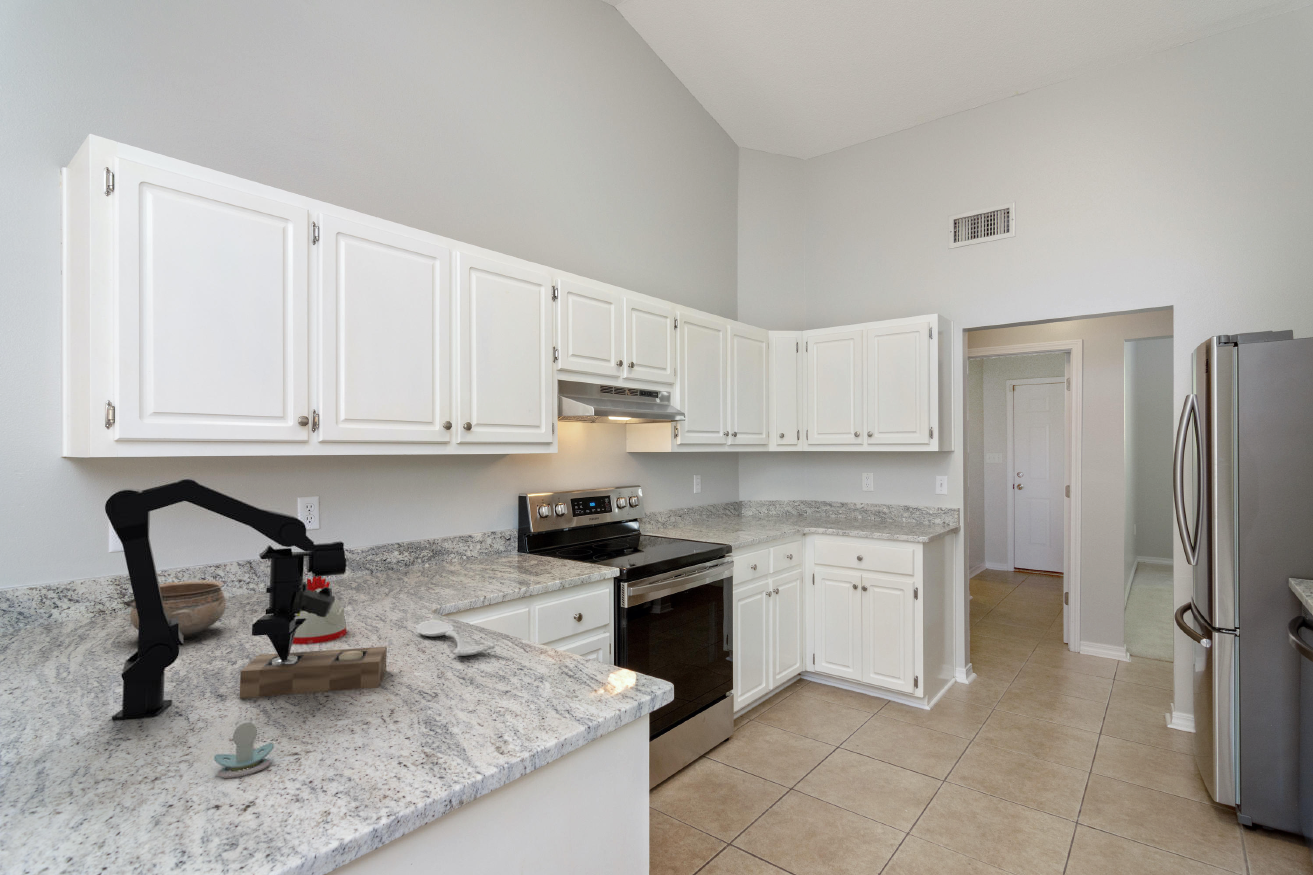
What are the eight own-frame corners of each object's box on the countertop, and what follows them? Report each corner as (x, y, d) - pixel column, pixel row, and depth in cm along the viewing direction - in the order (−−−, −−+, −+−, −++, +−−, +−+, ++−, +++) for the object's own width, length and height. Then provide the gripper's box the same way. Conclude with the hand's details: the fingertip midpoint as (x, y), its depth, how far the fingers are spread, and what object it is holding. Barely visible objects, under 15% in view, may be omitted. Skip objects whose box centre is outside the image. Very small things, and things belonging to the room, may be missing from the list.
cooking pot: (130, 631, 159) (132, 583, 159) (220, 620, 171) (222, 575, 171) (127, 657, 140) (129, 602, 140) (229, 642, 151) (231, 591, 152)
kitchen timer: (269, 641, 153) (271, 579, 153) (313, 626, 166) (314, 569, 166) (317, 646, 149) (319, 582, 150) (358, 630, 163) (359, 572, 163)
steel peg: (293, 686, 122) (293, 661, 122) (267, 688, 121) (268, 663, 121) (299, 678, 126) (300, 654, 127) (275, 680, 125) (275, 656, 125)
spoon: (457, 666, 137) (458, 650, 137) (410, 633, 162) (410, 619, 162) (496, 658, 143) (496, 643, 143) (445, 627, 168) (445, 614, 168)
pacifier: (274, 771, 91) (272, 753, 96) (276, 728, 91) (273, 713, 96) (213, 786, 87) (213, 766, 92) (214, 741, 87) (215, 724, 92)
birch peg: (360, 680, 125) (360, 657, 125) (335, 682, 124) (336, 658, 124) (364, 673, 130) (364, 650, 130) (341, 675, 128) (341, 651, 129)
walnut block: (378, 687, 124) (378, 661, 124) (239, 697, 117) (240, 671, 118) (386, 670, 133) (386, 646, 133) (258, 679, 127) (259, 654, 127)
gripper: (319, 587, 117) (317, 671, 117) (341, 569, 135) (339, 642, 135) (252, 590, 115) (249, 676, 114) (284, 571, 133) (281, 646, 132)
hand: (284, 659), depth 124 cm, fingers closed, pressing on steel peg
